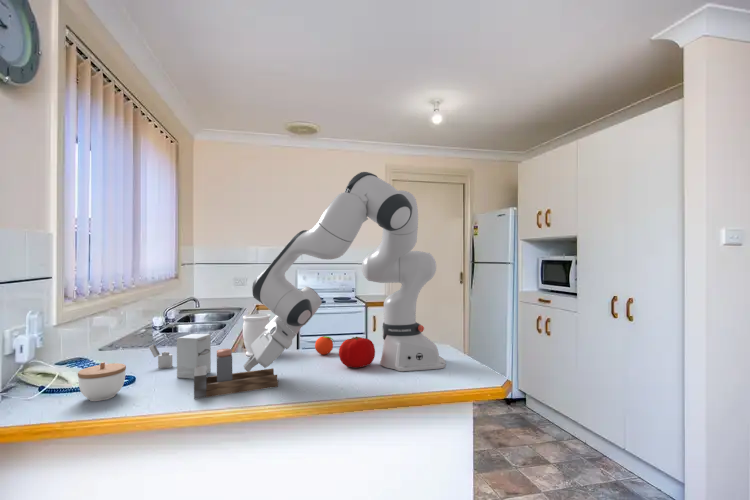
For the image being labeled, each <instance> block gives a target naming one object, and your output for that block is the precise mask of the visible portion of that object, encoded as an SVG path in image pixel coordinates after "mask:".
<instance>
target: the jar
mask: <svg viewBox="0 0 750 500" xmlns="http://www.w3.org/2000/svg"><path fill="white" fill-rule="evenodd" d="M270 319H271V314H269V313H252V314H245V315H243V316H242V320H244V321H243V324H242V338H243V344H244V348H245V350H246V352H245V355H246V356H247V357H250V356H251V355H252V354H253V351H252V349H251V344H252V343H253V342H254V341H255V340H256V339H257V338H258V337H259V336H260V335H261V334H262V333H263V332H264V331H265V330H266V329H265V328H264V327H265V326H266V325H267V324H268V323H269V322H270V321H271V320H270Z"/></svg>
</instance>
